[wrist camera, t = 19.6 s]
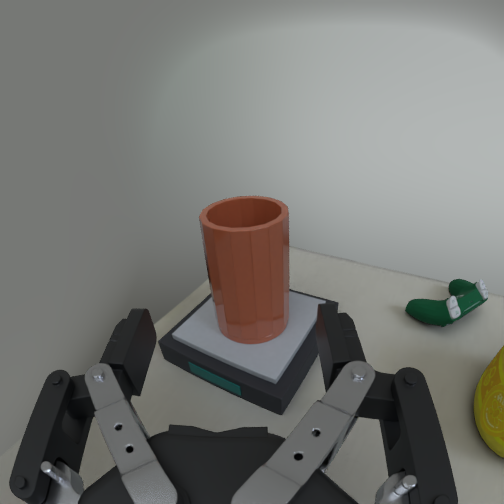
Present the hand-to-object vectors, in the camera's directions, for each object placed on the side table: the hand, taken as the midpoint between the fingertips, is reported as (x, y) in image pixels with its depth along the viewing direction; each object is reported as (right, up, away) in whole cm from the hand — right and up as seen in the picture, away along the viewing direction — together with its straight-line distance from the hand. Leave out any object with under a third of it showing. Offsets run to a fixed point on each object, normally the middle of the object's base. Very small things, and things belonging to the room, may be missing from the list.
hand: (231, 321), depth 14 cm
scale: (+1, -5, +14) cm, 15 cm away
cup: (+1, -3, +13) cm, 13 cm away
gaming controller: (+22, -4, +14) cm, 27 cm away
